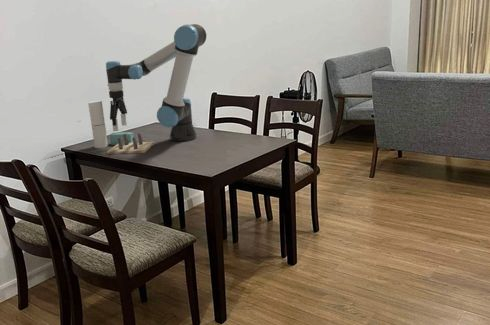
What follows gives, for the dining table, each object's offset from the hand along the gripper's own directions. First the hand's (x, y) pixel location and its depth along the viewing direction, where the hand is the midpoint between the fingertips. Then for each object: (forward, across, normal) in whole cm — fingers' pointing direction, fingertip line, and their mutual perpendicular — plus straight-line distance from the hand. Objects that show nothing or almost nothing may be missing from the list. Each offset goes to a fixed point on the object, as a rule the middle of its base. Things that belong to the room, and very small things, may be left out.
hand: (120, 128), depth 273 cm
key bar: (+9, 0, +1) cm, 9 cm away
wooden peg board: (+9, +12, +10) cm, 18 cm away
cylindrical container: (+9, +6, -10) cm, 15 cm away
